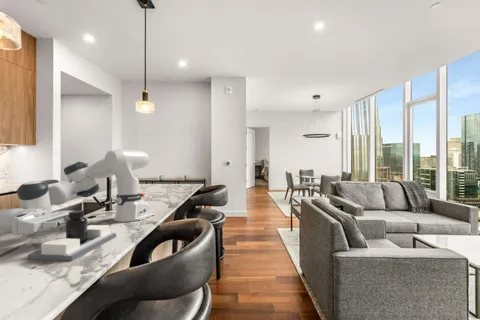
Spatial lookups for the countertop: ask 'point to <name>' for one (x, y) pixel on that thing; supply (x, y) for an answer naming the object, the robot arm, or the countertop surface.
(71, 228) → the supplement bottle
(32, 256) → the rail panel
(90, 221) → the countertop surface
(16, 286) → the countertop surface
